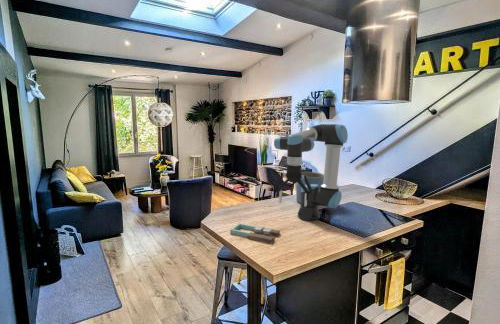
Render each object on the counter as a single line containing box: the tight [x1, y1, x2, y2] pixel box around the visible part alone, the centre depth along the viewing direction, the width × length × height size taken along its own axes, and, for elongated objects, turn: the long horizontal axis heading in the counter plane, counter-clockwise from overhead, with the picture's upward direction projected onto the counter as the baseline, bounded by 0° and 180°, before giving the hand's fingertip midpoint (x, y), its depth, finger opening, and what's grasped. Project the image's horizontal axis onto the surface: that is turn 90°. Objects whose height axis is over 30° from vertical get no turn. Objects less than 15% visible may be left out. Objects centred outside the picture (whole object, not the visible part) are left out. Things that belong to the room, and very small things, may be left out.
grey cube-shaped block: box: [253, 226, 263, 235], centre depth 155 cm, size 4×4×4 cm
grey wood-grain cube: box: [263, 227, 273, 236], centre depth 153 cm, size 4×4×4 cm
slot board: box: [247, 226, 281, 244], centre depth 154 cm, size 14×14×3 cm
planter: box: [295, 171, 324, 204], centre depth 222 cm, size 23×23×24 cm
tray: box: [229, 222, 257, 238], centre depth 160 cm, size 11×12×3 cm
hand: (292, 204), depth 143 cm, fingers open, 13 cm apart
